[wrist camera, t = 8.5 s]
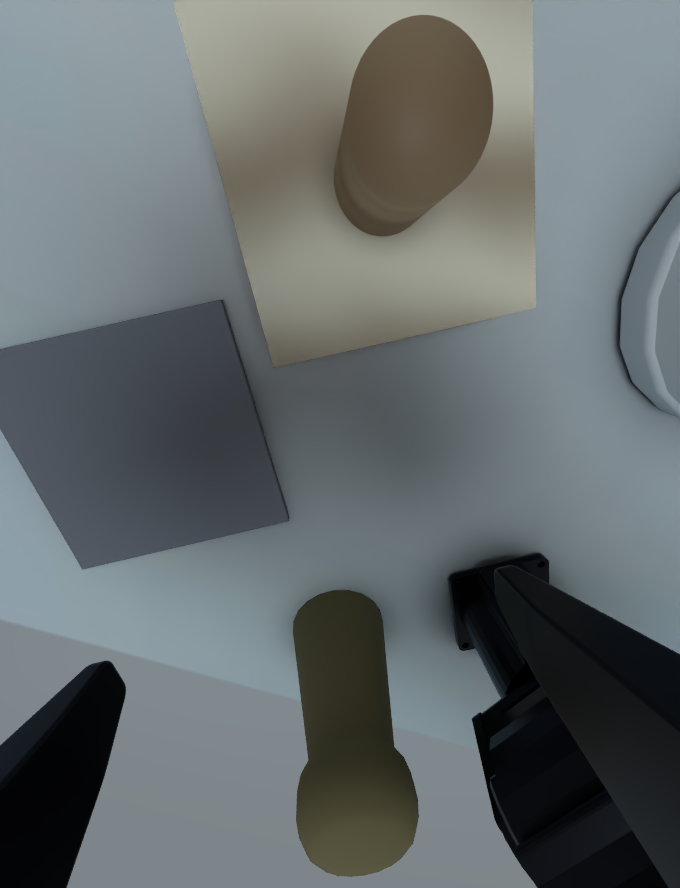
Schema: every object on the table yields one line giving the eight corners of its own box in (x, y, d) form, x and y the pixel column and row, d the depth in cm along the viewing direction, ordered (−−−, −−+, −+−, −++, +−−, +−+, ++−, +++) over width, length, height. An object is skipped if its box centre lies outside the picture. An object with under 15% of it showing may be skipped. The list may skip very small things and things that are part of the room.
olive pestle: (276, 612, 23) (254, 851, 13) (362, 576, 23) (410, 792, 13) (315, 670, 25) (323, 916, 15) (394, 639, 25) (457, 868, 15)
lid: (523, 308, 14) (626, 306, 10) (275, 365, 14) (261, 389, 9) (515, -47, 11) (672, -315, 6) (182, 24, 10) (89, -198, 6)
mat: (289, 517, 21) (288, 521, 20) (86, 564, 21) (82, 569, 20) (222, 300, 17) (220, 299, 16) (-33, 357, 16) (-41, 358, 16)
